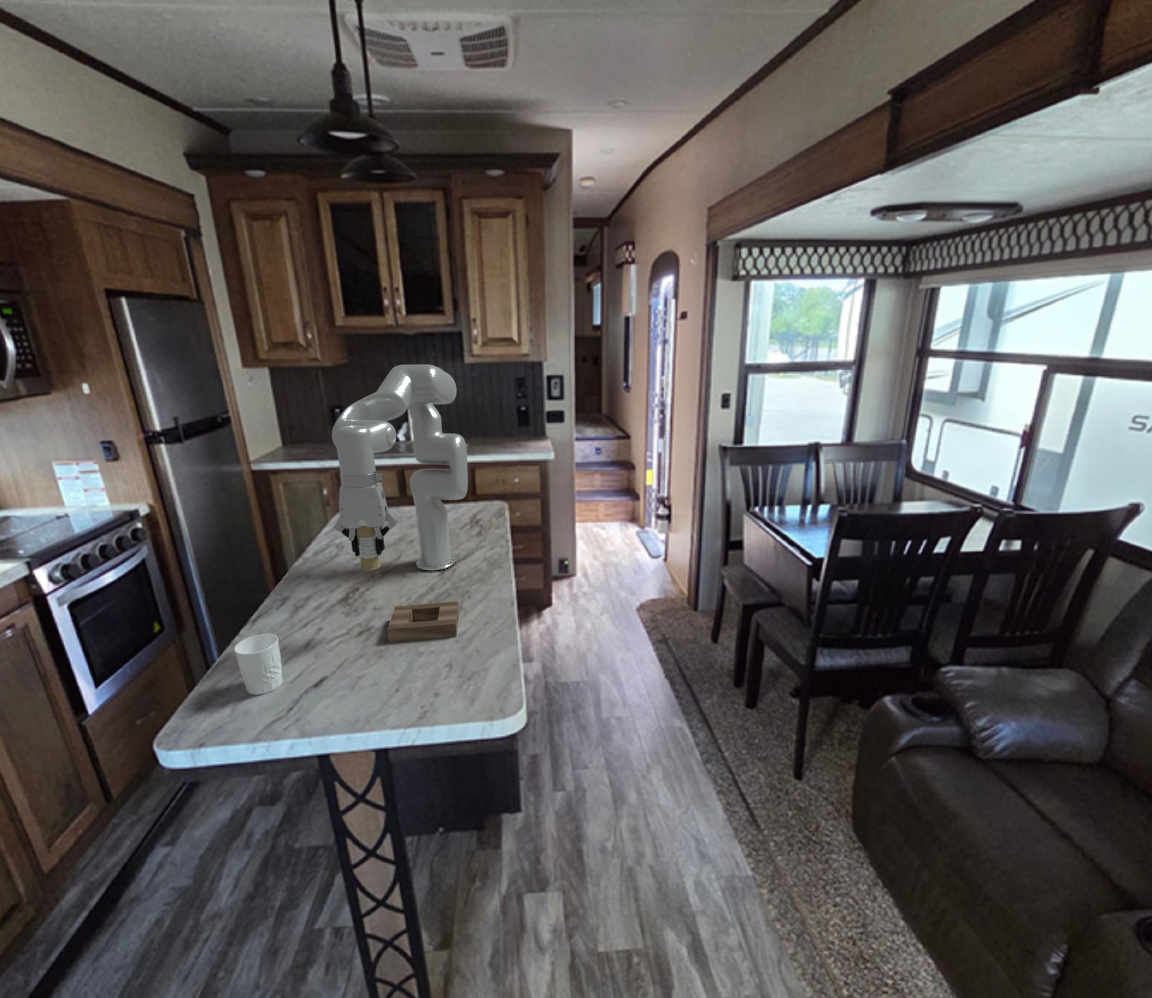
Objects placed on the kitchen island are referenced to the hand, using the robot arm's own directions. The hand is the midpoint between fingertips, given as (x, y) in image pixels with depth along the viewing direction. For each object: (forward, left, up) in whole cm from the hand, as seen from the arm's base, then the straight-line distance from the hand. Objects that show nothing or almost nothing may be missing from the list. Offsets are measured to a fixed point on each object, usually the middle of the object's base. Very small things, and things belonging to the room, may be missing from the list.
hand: (369, 552), depth 129 cm
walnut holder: (0, +11, -21) cm, 24 cm away
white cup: (+19, -20, -21) cm, 35 cm away
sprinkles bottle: (0, 0, -4) cm, 4 cm away
